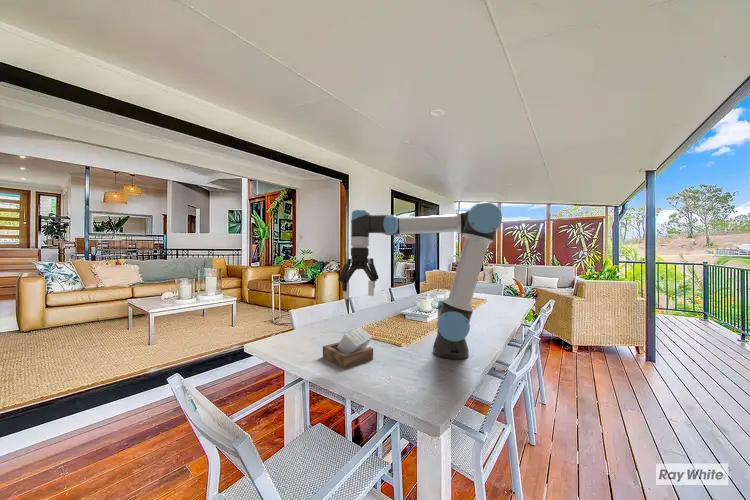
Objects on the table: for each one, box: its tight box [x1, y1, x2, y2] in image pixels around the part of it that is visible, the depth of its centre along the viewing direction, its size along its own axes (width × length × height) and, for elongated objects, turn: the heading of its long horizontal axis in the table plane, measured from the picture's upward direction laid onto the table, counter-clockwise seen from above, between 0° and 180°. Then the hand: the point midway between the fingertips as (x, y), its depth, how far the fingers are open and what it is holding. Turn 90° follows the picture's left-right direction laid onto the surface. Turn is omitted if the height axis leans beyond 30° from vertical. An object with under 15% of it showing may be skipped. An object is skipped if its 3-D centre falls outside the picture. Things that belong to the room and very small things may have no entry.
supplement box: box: [337, 326, 373, 354], centre depth 121 cm, size 7×7×13 cm
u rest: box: [322, 341, 374, 370], centre depth 119 cm, size 15×14×4 cm
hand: (358, 297), depth 122 cm, fingers open, 13 cm apart
